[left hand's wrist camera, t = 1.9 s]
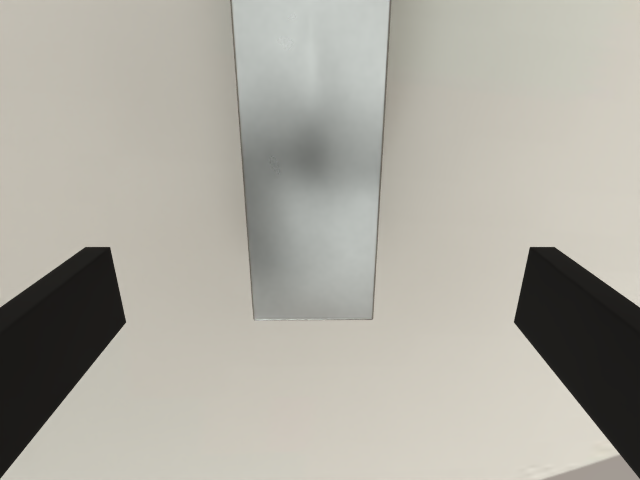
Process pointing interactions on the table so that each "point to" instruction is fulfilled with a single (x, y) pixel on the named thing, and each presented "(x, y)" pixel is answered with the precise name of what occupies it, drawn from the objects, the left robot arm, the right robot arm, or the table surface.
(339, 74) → the bar
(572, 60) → the table surface
